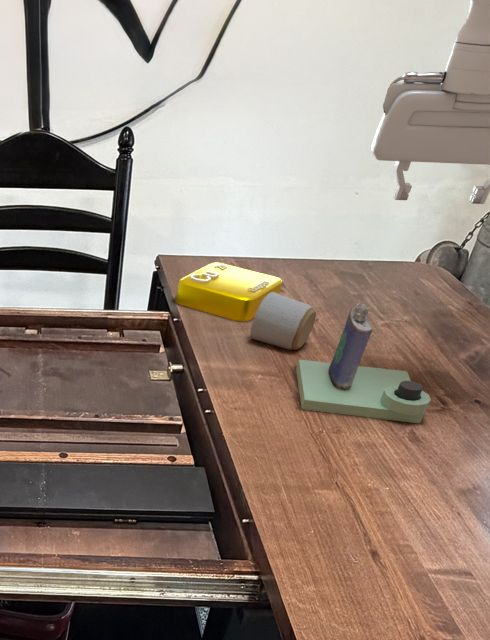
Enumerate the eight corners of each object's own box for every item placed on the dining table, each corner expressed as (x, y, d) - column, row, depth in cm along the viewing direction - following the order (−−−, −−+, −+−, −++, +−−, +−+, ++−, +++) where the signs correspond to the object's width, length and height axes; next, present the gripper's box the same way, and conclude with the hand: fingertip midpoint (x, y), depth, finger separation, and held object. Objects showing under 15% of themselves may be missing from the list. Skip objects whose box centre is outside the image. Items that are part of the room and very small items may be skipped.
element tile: (244, 325, 126) (251, 298, 123) (170, 304, 133) (175, 277, 130) (280, 302, 134) (287, 276, 131) (209, 283, 141) (214, 258, 138)
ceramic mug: (292, 358, 116) (307, 310, 111) (245, 344, 120) (257, 298, 114) (316, 339, 122) (331, 293, 117) (270, 326, 126) (283, 281, 121)
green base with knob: (405, 383, 110) (414, 361, 108) (423, 429, 99) (434, 407, 97) (295, 370, 113) (301, 349, 110) (301, 414, 102) (308, 392, 100)
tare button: (415, 393, 101) (421, 381, 99) (419, 403, 98) (425, 391, 97) (393, 390, 101) (398, 379, 100) (396, 400, 99) (401, 388, 98)
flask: (351, 391, 103) (379, 317, 96) (330, 389, 104) (356, 315, 97) (346, 365, 110) (371, 294, 103) (326, 363, 111) (350, 292, 103)
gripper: (397, 74, 85) (358, 203, 94) (588, 78, 81) (527, 211, 91) (388, 68, 89) (352, 191, 99) (569, 71, 86) (513, 198, 95)
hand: (437, 201), depth 95 cm, fingers open, 8 cm apart
